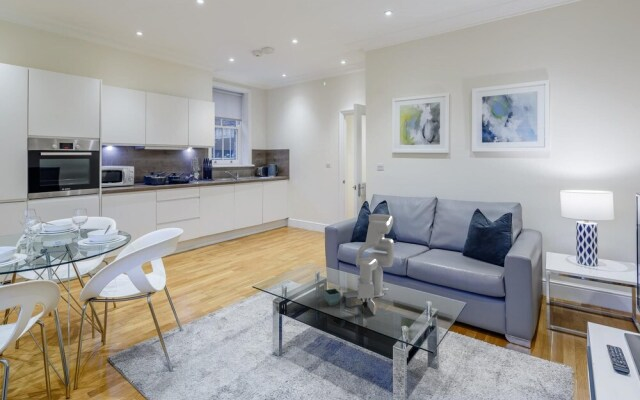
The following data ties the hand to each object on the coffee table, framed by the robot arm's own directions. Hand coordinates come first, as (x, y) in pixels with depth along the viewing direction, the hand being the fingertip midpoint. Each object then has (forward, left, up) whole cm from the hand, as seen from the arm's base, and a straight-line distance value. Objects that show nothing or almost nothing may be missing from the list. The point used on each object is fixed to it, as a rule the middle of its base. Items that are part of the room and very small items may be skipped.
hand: (364, 306), depth 226 cm
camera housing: (+1, -15, -4) cm, 16 cm away
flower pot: (+17, -18, -5) cm, 25 cm away
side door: (-6, -3, -4) cm, 8 cm away
